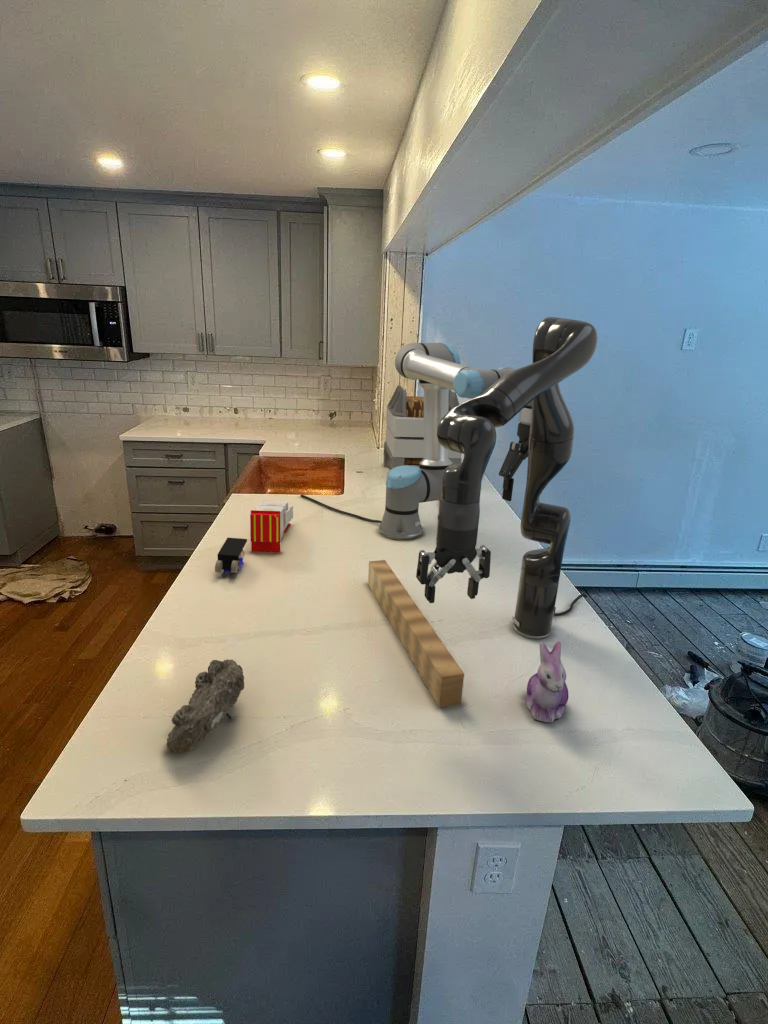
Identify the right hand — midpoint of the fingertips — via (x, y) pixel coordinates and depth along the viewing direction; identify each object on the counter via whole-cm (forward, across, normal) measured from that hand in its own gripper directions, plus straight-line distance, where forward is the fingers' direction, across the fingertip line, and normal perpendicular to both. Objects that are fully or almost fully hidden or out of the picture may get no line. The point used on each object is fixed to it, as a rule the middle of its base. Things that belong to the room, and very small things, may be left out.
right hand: (450, 599), depth 110 cm
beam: (+22, 0, +23) cm, 32 cm away
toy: (+22, -25, +91) cm, 97 cm away
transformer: (+22, +52, +159) cm, 169 cm away
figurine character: (+22, -39, +68) cm, 81 cm away
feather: (+22, +48, +121) cm, 132 cm away
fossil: (+22, -46, +4) cm, 51 cm away
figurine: (+22, +19, -10) cm, 31 cm away
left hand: (-3, +42, +48) cm, 64 cm away
